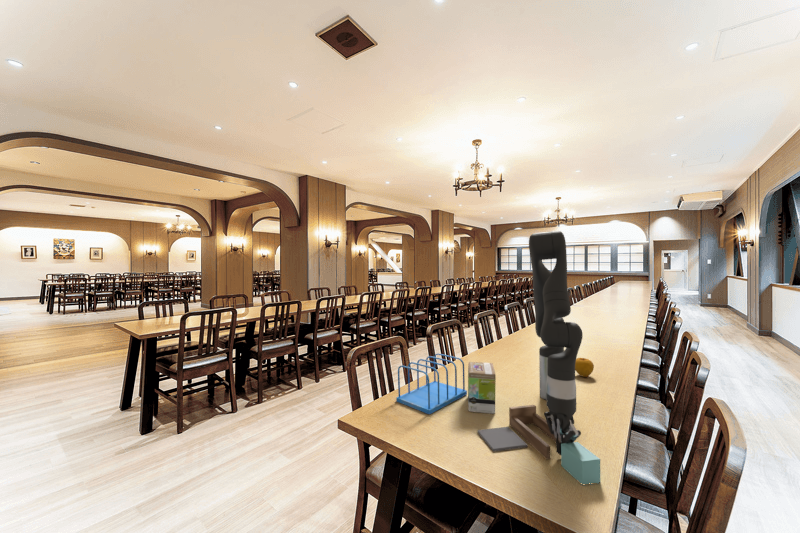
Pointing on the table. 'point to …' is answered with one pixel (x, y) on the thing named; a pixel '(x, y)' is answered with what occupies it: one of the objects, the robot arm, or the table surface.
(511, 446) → the felt mat
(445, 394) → the file sorter
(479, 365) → the tea box
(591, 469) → the teal blank
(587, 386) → the table surface
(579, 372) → the apple
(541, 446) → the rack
